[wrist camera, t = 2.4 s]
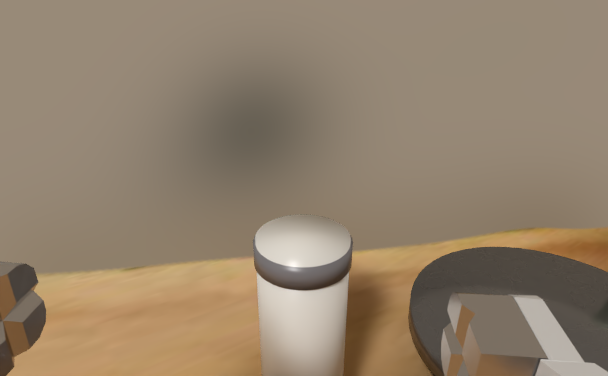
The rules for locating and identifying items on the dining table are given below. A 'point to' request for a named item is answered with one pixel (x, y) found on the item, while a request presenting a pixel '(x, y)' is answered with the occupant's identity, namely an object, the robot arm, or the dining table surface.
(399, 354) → the dining table surface
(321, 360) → the white lidded container
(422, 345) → the base
